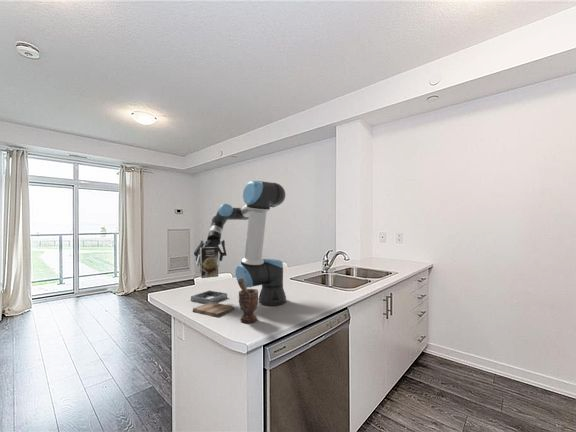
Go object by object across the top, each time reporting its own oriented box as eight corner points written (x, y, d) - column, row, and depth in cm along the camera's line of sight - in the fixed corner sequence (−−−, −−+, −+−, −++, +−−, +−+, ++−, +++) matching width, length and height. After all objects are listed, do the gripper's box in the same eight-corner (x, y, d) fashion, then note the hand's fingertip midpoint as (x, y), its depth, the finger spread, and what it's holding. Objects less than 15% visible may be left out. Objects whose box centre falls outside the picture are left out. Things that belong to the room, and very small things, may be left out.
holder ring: (227, 297, 155) (227, 293, 155) (209, 304, 143) (209, 299, 143) (209, 294, 162) (209, 290, 162) (190, 300, 150) (190, 296, 150)
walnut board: (234, 309, 135) (234, 306, 135) (217, 317, 124) (217, 313, 124) (210, 304, 142) (210, 301, 143) (192, 311, 132) (192, 308, 132)
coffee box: (201, 278, 143) (201, 248, 143) (199, 276, 149) (199, 247, 149) (218, 276, 147) (218, 247, 148) (216, 274, 153) (216, 246, 153)
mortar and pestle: (256, 327, 113) (256, 279, 113) (235, 327, 113) (235, 279, 113) (259, 317, 124) (259, 273, 124) (240, 317, 124) (240, 273, 124)
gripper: (235, 238, 164) (229, 269, 148) (197, 239, 164) (187, 269, 148) (233, 230, 159) (227, 260, 143) (194, 231, 158) (184, 261, 142)
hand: (207, 265), depth 145 cm, fingers closed on coffee box, 10 cm apart
